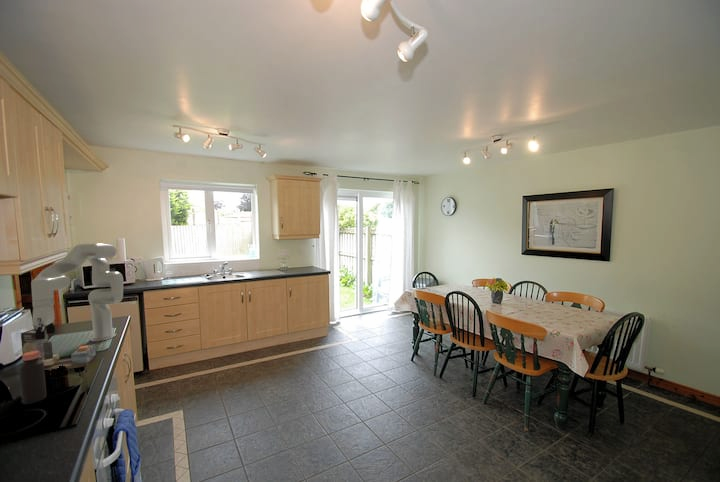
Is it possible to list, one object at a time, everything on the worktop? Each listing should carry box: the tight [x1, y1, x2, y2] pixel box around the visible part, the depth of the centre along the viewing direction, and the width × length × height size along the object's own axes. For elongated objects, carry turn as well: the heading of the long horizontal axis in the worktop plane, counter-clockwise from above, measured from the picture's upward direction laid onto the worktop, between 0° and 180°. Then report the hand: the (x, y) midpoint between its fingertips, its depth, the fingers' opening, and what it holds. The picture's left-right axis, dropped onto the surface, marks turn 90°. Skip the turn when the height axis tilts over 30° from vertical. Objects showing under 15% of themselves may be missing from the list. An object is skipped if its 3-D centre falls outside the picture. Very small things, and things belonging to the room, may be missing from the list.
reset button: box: [77, 344, 90, 351], centre depth 160 cm, size 3×3×3 cm
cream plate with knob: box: [41, 341, 60, 366], centre depth 155 cm, size 8×5×10 cm, turn 24°
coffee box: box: [20, 328, 49, 356], centre depth 165 cm, size 9×6×16 cm
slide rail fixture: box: [39, 343, 97, 370], centre depth 157 cm, size 12×22×7 cm, turn 114°
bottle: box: [19, 351, 47, 405], centre depth 126 cm, size 7×7×20 cm
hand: (45, 336), depth 154 cm, fingers open, 9 cm apart
